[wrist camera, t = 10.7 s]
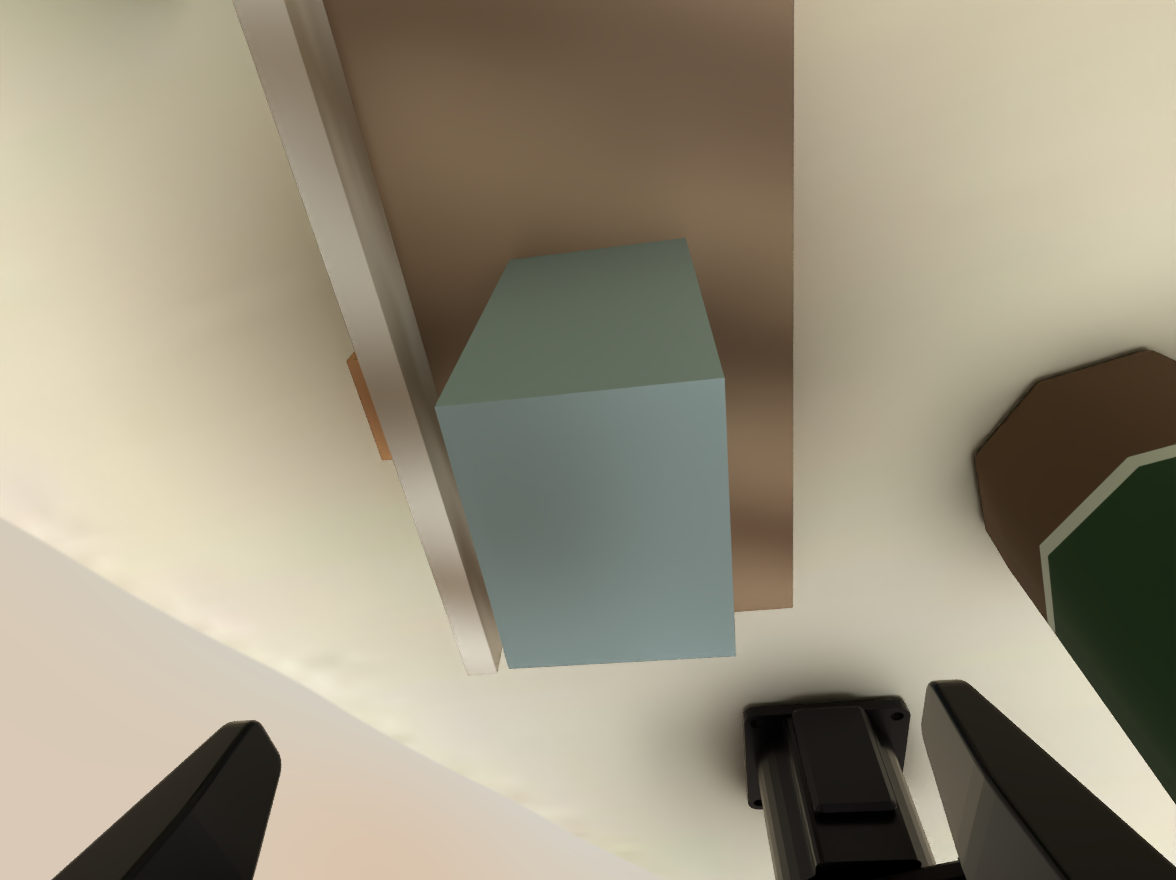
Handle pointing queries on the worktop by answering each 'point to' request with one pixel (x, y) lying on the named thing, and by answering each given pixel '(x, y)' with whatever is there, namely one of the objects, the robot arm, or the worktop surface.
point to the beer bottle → (1098, 532)
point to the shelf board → (543, 212)
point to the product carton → (596, 459)
